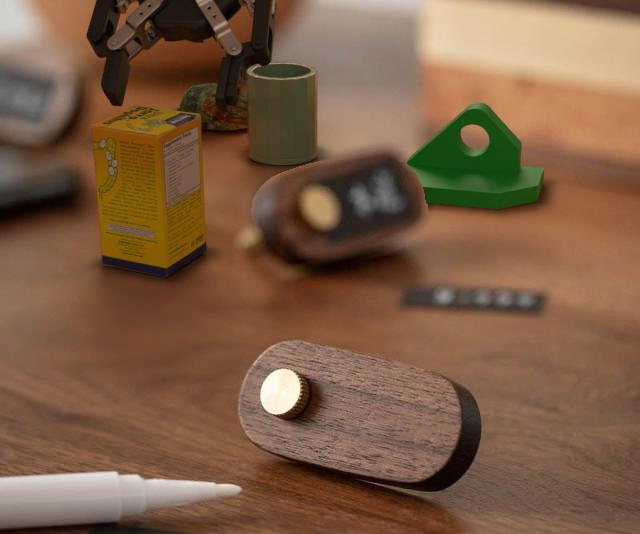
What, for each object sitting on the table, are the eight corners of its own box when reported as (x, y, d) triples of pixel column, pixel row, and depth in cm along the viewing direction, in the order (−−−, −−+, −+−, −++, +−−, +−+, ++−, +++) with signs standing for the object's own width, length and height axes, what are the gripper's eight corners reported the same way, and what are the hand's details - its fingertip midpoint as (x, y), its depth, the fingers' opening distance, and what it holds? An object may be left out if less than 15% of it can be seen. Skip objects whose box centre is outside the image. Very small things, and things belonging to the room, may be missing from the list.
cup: (241, 163, 120) (239, 77, 117) (257, 142, 126) (255, 60, 123) (309, 167, 119) (309, 81, 116) (322, 146, 125) (323, 63, 121)
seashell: (283, 74, 132) (221, 97, 125) (286, 114, 134) (225, 139, 127) (207, 68, 138) (143, 89, 131) (211, 107, 140) (148, 129, 132)
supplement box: (142, 239, 103) (134, 103, 98) (208, 251, 100) (203, 113, 96) (99, 265, 98) (88, 123, 93) (167, 279, 96) (159, 134, 91)
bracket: (391, 199, 111) (393, 121, 108) (409, 171, 118) (411, 97, 115) (532, 212, 108) (538, 132, 106) (543, 183, 115) (549, 107, 112)
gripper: (104, -107, 102) (63, 74, 97) (281, -102, 100) (250, 83, 95) (129, -48, 109) (92, 123, 104) (296, -43, 107) (267, 133, 101)
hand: (167, 104), depth 99 cm, fingers open, 8 cm apart
